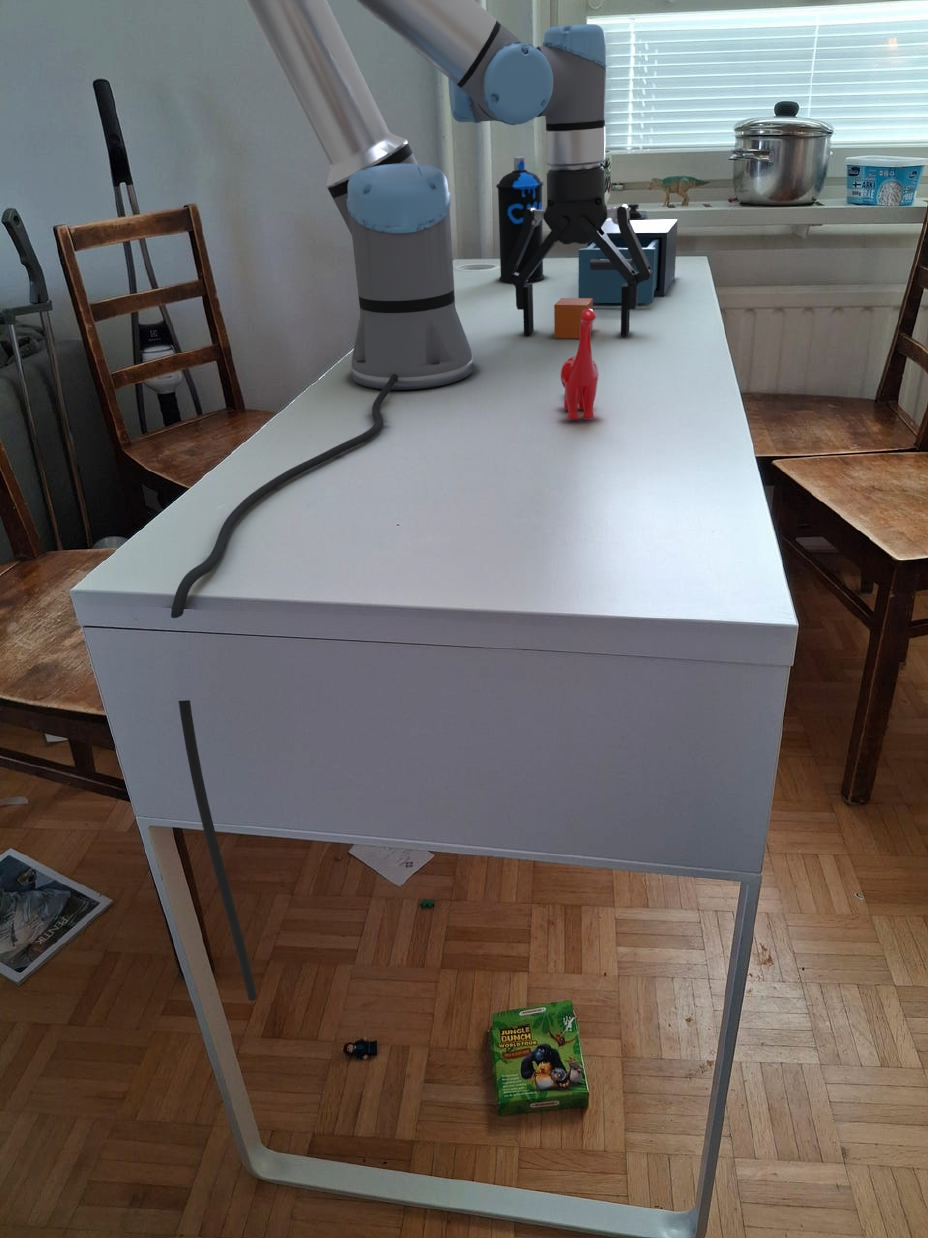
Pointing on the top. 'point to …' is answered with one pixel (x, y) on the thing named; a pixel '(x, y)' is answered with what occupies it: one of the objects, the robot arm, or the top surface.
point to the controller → (636, 213)
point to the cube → (570, 316)
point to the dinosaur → (581, 373)
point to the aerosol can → (519, 215)
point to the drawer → (616, 272)
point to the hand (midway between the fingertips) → (576, 333)
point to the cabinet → (668, 245)
